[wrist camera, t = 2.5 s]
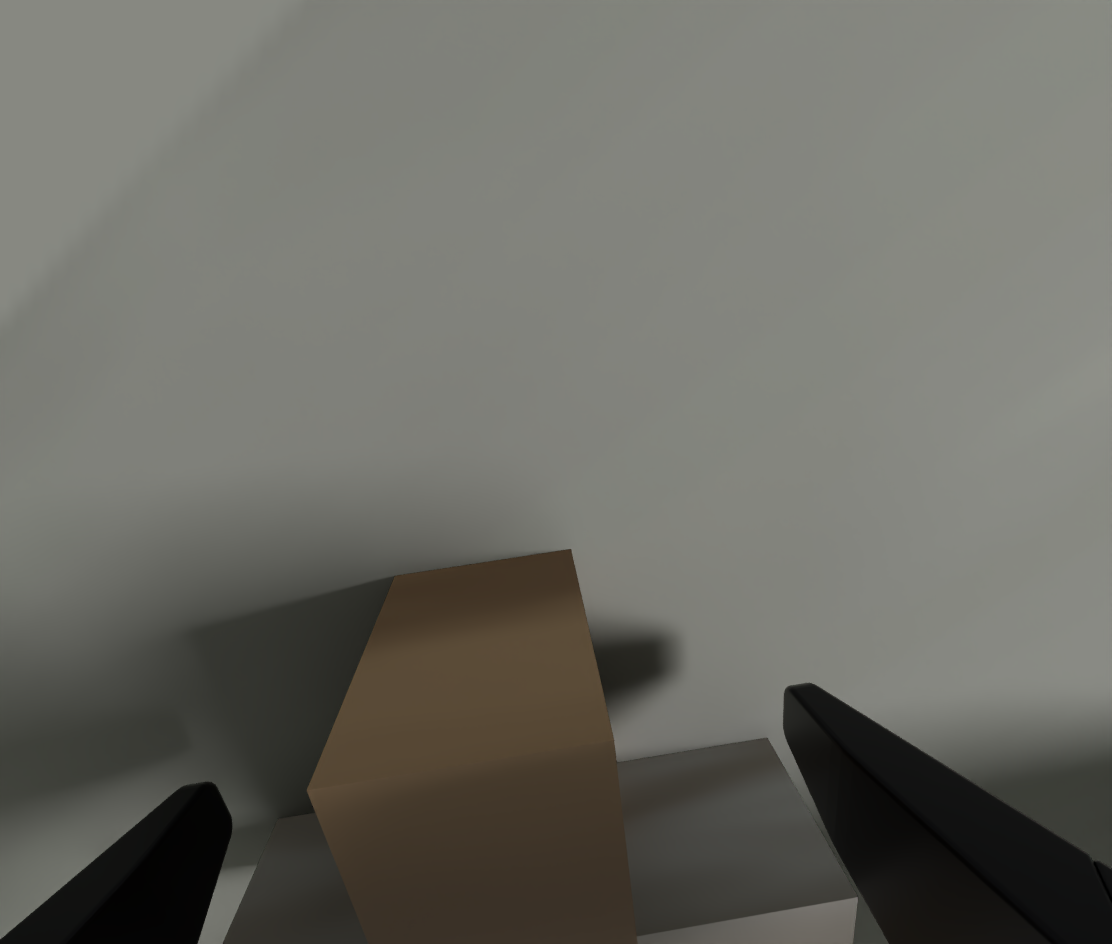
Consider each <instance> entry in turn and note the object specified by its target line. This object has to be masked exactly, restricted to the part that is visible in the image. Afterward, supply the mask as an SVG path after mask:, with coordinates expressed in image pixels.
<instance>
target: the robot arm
mask: <svg viewBox="0 0 1112 944" xmlns="http://www.w3.org/2000/svg"><path fill="white" fill-rule="evenodd" d="M783 729H784V734H785V737H786V740H787V743H788V745H789V747H790V749H791V752H792V754H793V756H794V758H795V760H796V763H797V765H798V767H799V769H800V772H801V774H802V776H803V778H804V780H805V783H806V785H807V787H808V789H809V792H810V794H811V796H812V798H813V800H814V803H815V805H816V807H817V809H818V812H819V814H820V816H821V818H822V820H823V823H824V825H825V827H826V829H827V831H828V833H829V836H830V838H831V840H832V842H833V844H834V846H835V848H836V850H837V852H838V853H839V855H840V857H841V859H842V861H843V863H844V864H845V866H846V868H847V870H848V872H849V873H850V875H851V877H852V879H853V880H854V882H855V884H856V886H857V888H858V889H859V891H860V893H861V895H862V896H863V898H864V900H865V902H866V903H867V905H868V907H869V909H870V911H871V912H872V914H873V916H874V918H875V919H876V921H877V923H878V925H879V926H880V928H881V930H882V932H883V934H884V935H885V937H886V939H887V941H888V942H889V944H1112V868H1110V867H1109V866H1107V865H1105V864H1104V863H1102V862H1101V861H1098V860H1094V861H1093V860H1092V858H1091V857H1090V855H1089V854H1087V853H1086V852H1084V851H1082V850H1081V849H1079V848H1078V847H1076V846H1074V845H1073V844H1071V843H1070V842H1068V841H1066V840H1065V839H1063V838H1062V837H1060V836H1058V835H1057V834H1055V833H1053V832H1052V831H1050V830H1049V829H1047V828H1045V827H1044V826H1042V825H1041V824H1039V823H1037V822H1036V821H1034V820H1033V819H1031V818H1029V817H1028V816H1026V815H1024V814H1023V813H1021V812H1020V811H1018V810H1016V809H1015V808H1013V807H1012V806H1010V805H1008V804H1007V803H1005V802H1004V801H1002V800H1000V799H999V798H997V797H995V796H994V795H992V794H991V793H989V792H987V791H986V790H984V789H983V788H981V787H979V786H978V785H976V784H975V783H973V782H971V781H970V780H968V779H966V778H965V777H963V776H962V775H960V774H958V773H957V772H955V771H954V770H952V769H950V768H949V767H947V766H946V765H944V764H942V763H941V762H939V761H937V760H936V759H934V758H933V757H931V756H929V755H928V754H926V753H925V752H923V751H921V750H920V749H918V748H917V747H915V746H913V745H912V744H910V743H908V742H907V741H905V740H904V739H902V738H900V737H899V736H897V735H896V734H894V733H892V732H891V731H889V730H888V729H886V728H884V727H883V726H881V725H879V724H878V723H876V722H875V721H873V720H871V719H870V718H868V717H867V716H865V715H863V714H862V713H860V712H859V711H857V710H855V709H854V708H852V707H851V706H849V705H847V704H846V703H844V702H842V701H841V700H839V699H838V698H836V697H834V696H833V695H831V694H830V693H828V692H826V691H825V690H823V689H822V688H820V687H818V686H817V685H815V684H812V683H803V684H797V685H791V686H788V687H787V688H786V689H785V691H784V709H783ZM231 834H232V817H231V814H230V812H229V810H228V808H227V806H226V804H225V802H224V800H223V798H222V796H221V794H220V792H219V790H218V788H217V786H216V785H215V784H214V783H212V782H202V783H196V784H190V785H186V786H183V787H181V788H179V789H178V790H177V791H175V792H174V793H173V794H172V795H171V796H170V797H168V798H167V799H166V800H165V801H164V802H162V803H161V804H160V805H159V806H158V807H157V808H155V809H154V810H153V811H152V812H151V813H149V814H148V815H147V816H146V817H145V818H144V819H142V820H141V821H140V822H139V823H138V824H136V825H135V826H134V827H133V828H132V829H131V830H129V831H128V832H127V833H126V834H125V835H123V836H122V837H121V838H120V839H119V840H118V841H116V842H115V843H114V844H113V845H112V846H110V847H109V848H108V849H107V850H106V851H105V852H103V853H102V854H101V855H100V856H99V857H97V858H96V859H95V860H94V861H93V862H91V863H90V864H89V865H88V866H87V867H86V868H84V869H83V870H82V871H81V872H80V873H78V874H77V875H76V876H75V877H74V878H73V879H71V880H70V881H69V882H68V883H67V884H65V885H64V886H63V887H62V888H61V889H60V890H58V891H57V892H56V893H55V894H54V895H52V896H51V897H50V898H49V899H48V900H47V901H45V902H44V903H43V904H42V905H41V906H39V907H38V908H37V909H36V910H35V911H34V912H32V913H31V914H30V915H29V916H28V917H26V918H25V919H24V920H23V921H22V922H20V923H19V924H18V925H17V926H16V927H15V928H13V929H12V930H11V931H10V932H9V933H7V934H6V935H5V936H4V937H3V938H2V939H0V944H197V943H198V940H199V937H200V934H201V931H202V928H203V924H204V921H205V918H206V915H207V912H208V908H209V905H210V902H211V899H212V896H213V892H214V889H215V886H216V883H217V880H218V876H219V873H220V870H221V867H222V863H223V860H224V857H225V854H226V851H227V847H228V844H229V841H230V838H231Z"/></svg>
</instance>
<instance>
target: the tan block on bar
mask: <svg viewBox="0 0 1112 944" xmlns="http://www.w3.org/2000/svg"><path fill="white" fill-rule="evenodd" d="M307 793H308V795H309V798H310V800H311V803H312V805H313V808H314V810H315V813H311V814H305V815H299V816H293V817H287V818H281V819H278V820H277V822H276V824H275V827H274V829H273V831H272V833H271V836H270V838H269V840H268V842H267V845H266V847H265V849H264V851H263V854H262V856H261V858H260V860H259V863H258V865H257V867H256V869H255V872H254V874H253V876H252V878H251V881H250V883H249V885H248V887H247V890H246V892H245V894H244V897H243V899H242V901H241V903H240V906H239V908H238V910H237V912H236V915H235V917H234V919H233V921H232V924H231V926H230V928H229V930H228V933H227V935H226V937H225V939H224V942H223V944H853V938H854V929H855V920H856V912H857V903H858V896H857V894H856V893H855V891H854V889H853V887H852V886H851V884H850V882H849V880H848V878H847V877H846V875H845V873H844V871H843V870H842V868H841V866H840V864H839V863H838V861H837V859H836V857H835V856H834V854H833V852H832V850H831V849H830V847H829V845H828V843H827V842H826V840H825V838H824V836H823V835H822V833H821V831H820V829H819V828H818V826H817V824H816V822H815V821H814V819H813V817H812V815H811V814H810V812H809V810H808V808H807V806H806V805H805V803H804V801H803V799H802V798H801V796H800V794H799V792H798V791H797V789H796V787H795V785H794V784H793V782H792V780H791V778H790V777H789V775H788V773H787V771H786V770H785V768H784V766H783V764H782V763H781V761H780V759H779V757H778V756H777V754H776V752H775V750H774V749H773V747H772V745H771V743H770V742H769V740H768V738H763V739H757V740H751V741H745V742H739V743H733V744H727V745H720V746H714V747H708V748H702V749H696V750H690V751H684V752H678V753H672V754H666V755H660V756H654V757H648V758H642V759H636V760H630V761H624V762H618V763H617V762H616V753H615V744H614V738H613V733H612V729H611V725H610V720H609V716H608V711H607V707H606V702H605V698H604V694H603V689H602V685H601V680H600V676H599V671H598V667H597V663H596V658H595V654H594V649H593V645H592V640H591V636H590V632H589V627H588V623H587V618H586V614H585V609H584V605H583V600H582V596H581V592H580V587H579V583H578V578H577V574H576V569H575V565H574V561H573V556H572V552H571V549H568V550H562V551H555V552H549V553H542V554H536V555H529V556H522V557H516V558H509V559H503V560H496V561H489V562H483V563H476V564H470V565H463V566H457V567H450V568H443V569H437V570H430V571H424V572H417V573H411V574H404V575H397V576H395V577H394V579H393V582H392V584H391V587H390V589H389V591H388V594H387V596H386V599H385V601H384V604H383V606H382V608H381V611H380V613H379V616H378V618H377V621H376V623H375V625H374V628H373V630H372V633H371V635H370V638H369V640H368V643H367V645H366V647H365V650H364V652H363V655H362V657H361V660H360V662H359V664H358V667H357V669H356V672H355V674H354V677H353V679H352V681H351V684H350V686H349V689H348V691H347V694H346V696H345V698H344V701H343V703H342V706H341V708H340V711H339V713H338V715H337V718H336V720H335V723H334V725H333V728H332V730H331V732H330V735H329V737H328V740H327V742H326V745H325V747H324V750H323V752H322V754H321V757H320V759H319V762H318V764H317V767H316V769H315V771H314V774H313V776H312V779H311V781H310V784H309V786H308V788H307Z"/></svg>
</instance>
